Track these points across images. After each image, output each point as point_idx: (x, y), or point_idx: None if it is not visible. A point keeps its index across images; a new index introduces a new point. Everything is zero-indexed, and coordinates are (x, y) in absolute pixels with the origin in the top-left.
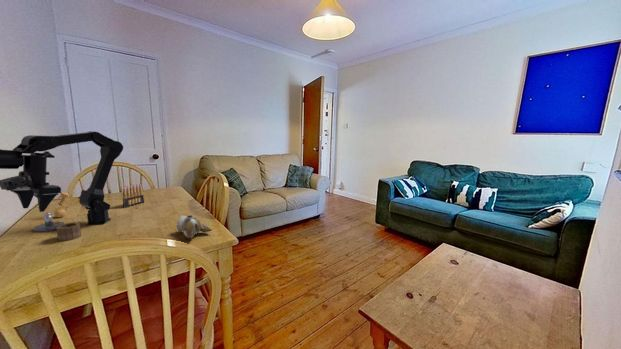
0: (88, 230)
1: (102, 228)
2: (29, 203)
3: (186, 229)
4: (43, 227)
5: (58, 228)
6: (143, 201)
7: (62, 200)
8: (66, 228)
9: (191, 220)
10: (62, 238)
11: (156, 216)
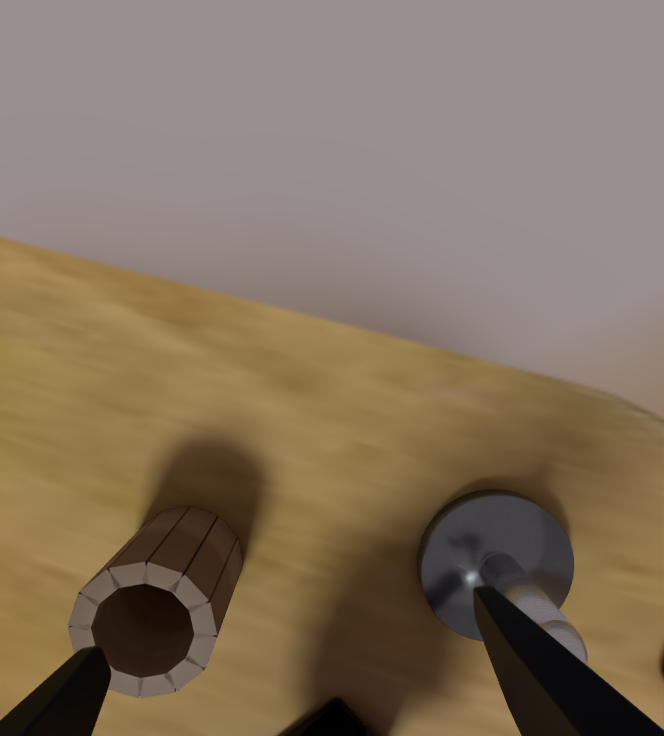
0: (222, 660)
1: (185, 717)
2: (516, 722)
3: None
4: (489, 539)
5: (123, 567)
6: None
7: None
8: (77, 598)
9: None
10: (147, 525)
11: None
